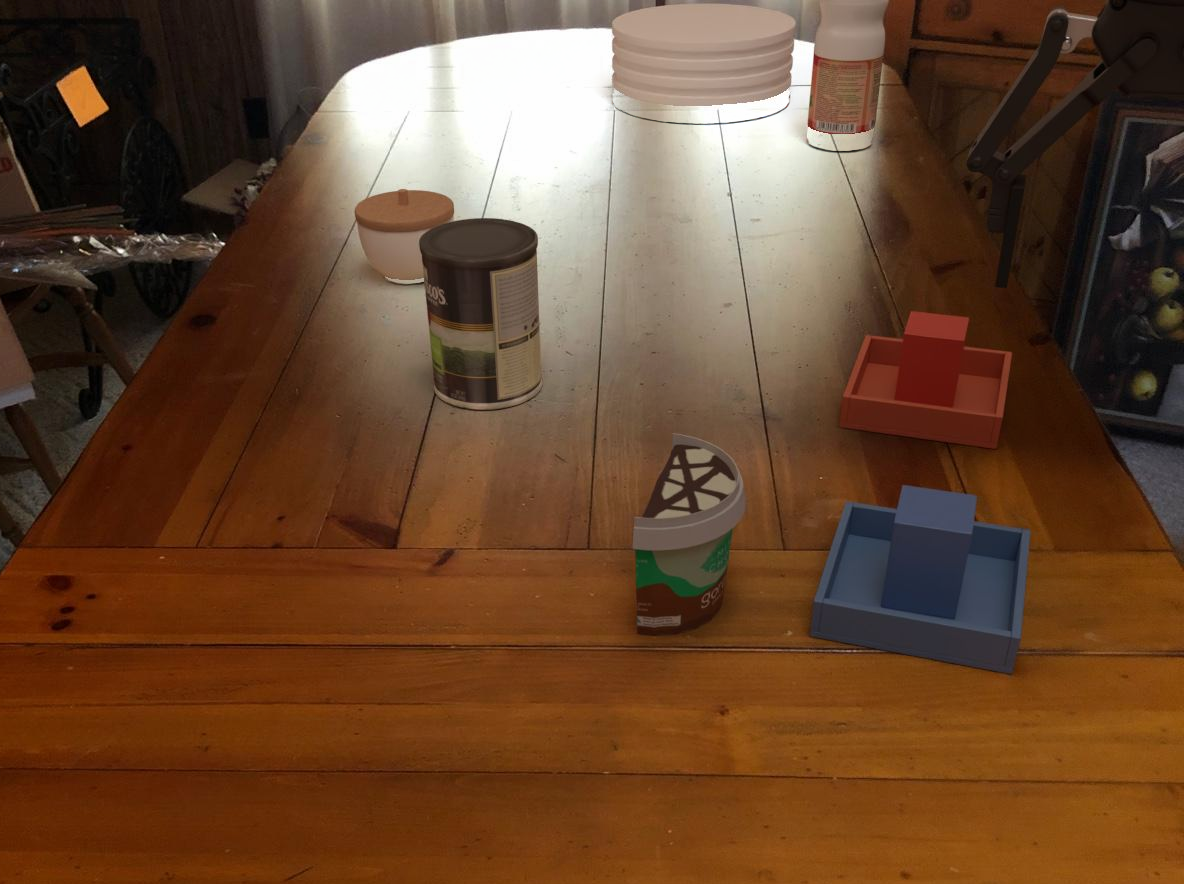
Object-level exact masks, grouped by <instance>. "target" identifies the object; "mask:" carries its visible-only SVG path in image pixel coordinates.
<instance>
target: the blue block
mask: <svg viewBox="0 0 1184 884" xmlns="http://www.w3.org/2000/svg"><path fill="white" fill-rule="evenodd" d="M977 502H978V496H977V495H976V494H968V493H962V492H955V491H948V490H941V489H934V488H928V487H921V486H914V485H908V484H907V485H906V484H902V486H901V489H900V494H899V499H898V503H897V507H896V509H897V511H896V515H895V520H894V525H893V531H892V537H891V544H890V550H889V557H888V563H887V569H886V576H885V582H884V588H883V595H882V601H881V607H885V608H891V609H896V610H902V611H908V612H914V613H920V614H926V615H932V616H937V617H943V618H949V619H955V617H956V612H957V607H958V602H959V597H960V592H961V587H962V583H963V578H964V573H965V568H966V563H967V558H968V553H969V548H970V543H971V538H972V533H973V525H974V521H975V517H976V509H977Z"/></svg>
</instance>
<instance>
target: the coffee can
mask: <svg viewBox="0 0 1184 884" xmlns="http://www.w3.org/2000/svg"><path fill="white" fill-rule="evenodd" d="M538 245H539V236H538V233H537V231H536V230H535V229H533V228H532V227H531V226H528V225H527V224H524V223H522V222H518V221H514V220H510V219H504V218H496V217H477V218H475V217H474V218H466V219H457V220H454V221H453V222H449V223H445V224H442V225H439V226H436V227H434V228H432V229H430V230H428V231H427V232H425V233H424V234H423V235H422V236H421V238H420V240H419V247H420V252H421V254H422V263H423V274H424V283H423V284H424V291H425V303H426V313H427V321H428V331H429V342H430V351H431V353H430V354H431V362H432V373H433V391H434V393H435V395H436V396H437V397H438V398H439V399H440V400H441V401H443V402H445V403H446V404H448V405H450V406H454V407H457V408H460V409H466V410H471V411H472V410H473V411H493V410H501V409H502V410H503V409H507V408H511V407H512V408H513V407H515V406H518V405H519V406H520V404H524V403H526V402H527V401H529V400H531V399H533V398H534V397H536V396H537V394H538V393H539V392H540V391H541V389H542V387H543V383H544V381H543V377H542V375H543V374H542V352H541V329H540V303H539V301H540V300H539V276H538V275H539V274H538V273H539V272H538V249H537V248H538V247H539V246H538Z"/></svg>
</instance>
